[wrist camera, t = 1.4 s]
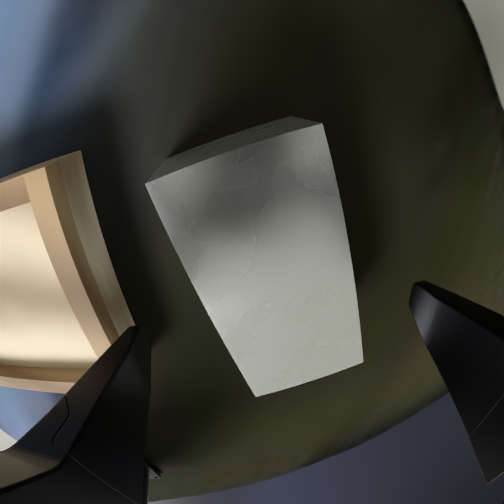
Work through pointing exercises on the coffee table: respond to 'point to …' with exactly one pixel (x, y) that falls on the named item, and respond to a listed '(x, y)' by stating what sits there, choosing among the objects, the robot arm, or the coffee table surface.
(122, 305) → the beech stand
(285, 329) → the block
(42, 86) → the coffee table surface
